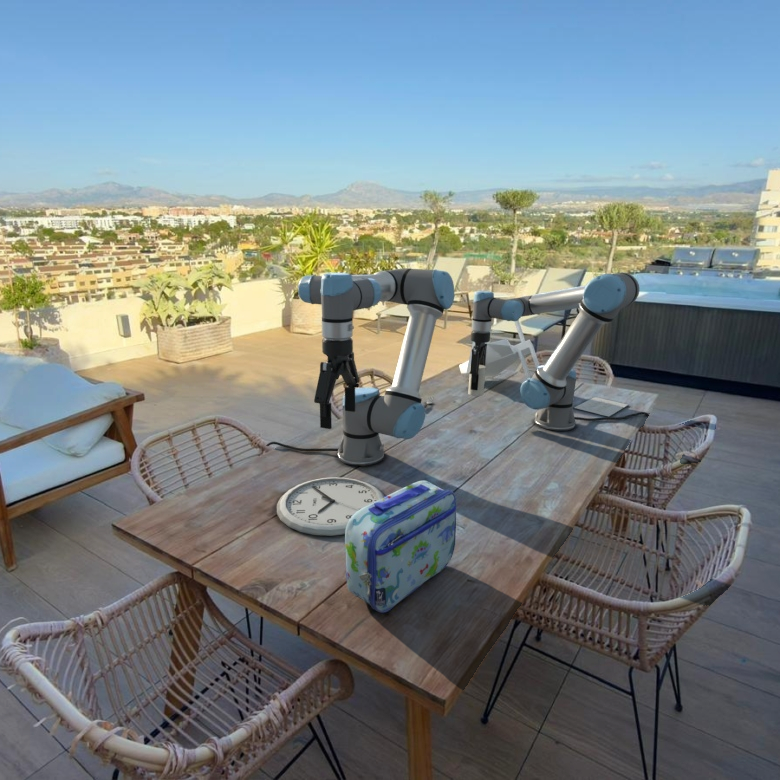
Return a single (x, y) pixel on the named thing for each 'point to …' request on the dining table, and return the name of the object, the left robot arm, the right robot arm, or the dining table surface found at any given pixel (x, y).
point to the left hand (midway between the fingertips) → (338, 419)
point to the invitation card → (601, 406)
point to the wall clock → (325, 504)
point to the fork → (428, 402)
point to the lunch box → (399, 543)
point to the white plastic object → (504, 356)
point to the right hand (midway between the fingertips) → (476, 387)
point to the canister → (480, 382)
